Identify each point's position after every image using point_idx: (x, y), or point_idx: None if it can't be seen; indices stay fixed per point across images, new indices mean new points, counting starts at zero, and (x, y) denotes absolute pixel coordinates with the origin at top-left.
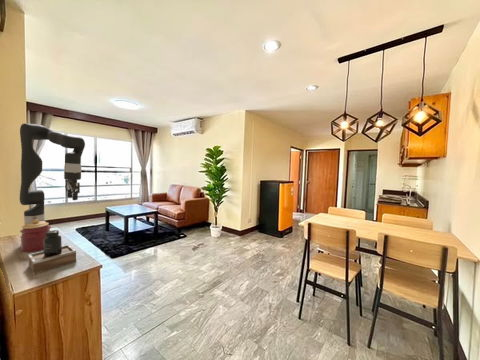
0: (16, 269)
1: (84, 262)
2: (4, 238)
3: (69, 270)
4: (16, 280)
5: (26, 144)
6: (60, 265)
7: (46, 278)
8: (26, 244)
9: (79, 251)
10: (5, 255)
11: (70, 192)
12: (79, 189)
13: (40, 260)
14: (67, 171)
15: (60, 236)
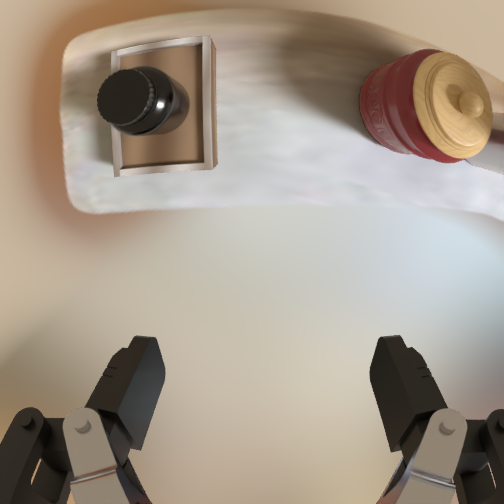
0: (214, 23)
1: (108, 189)
2: None
3: (83, 143)
4: (125, 28)
5: None
6: None
7: (78, 90)
8: (385, 66)
9: (227, 202)
10: (389, 30)
11: (393, 421)
12: (38, 488)
13: (111, 69)
14: None
15: (124, 132)
